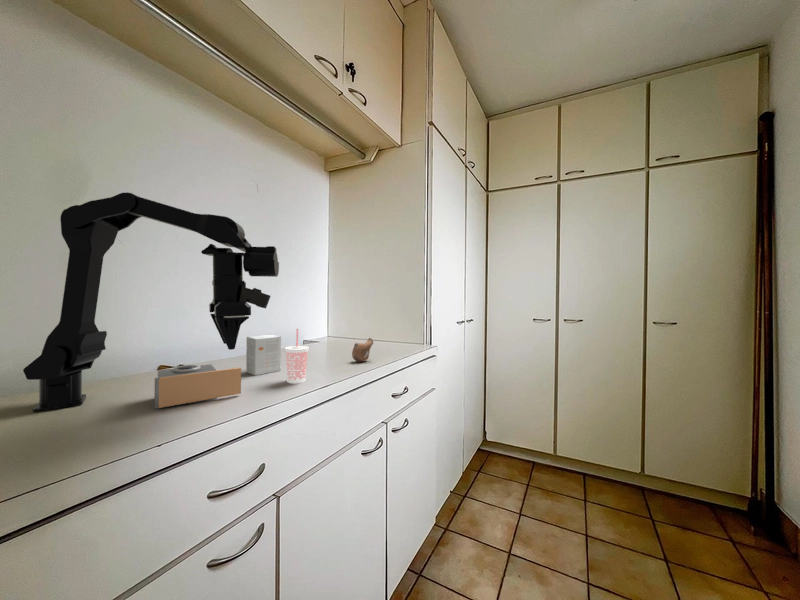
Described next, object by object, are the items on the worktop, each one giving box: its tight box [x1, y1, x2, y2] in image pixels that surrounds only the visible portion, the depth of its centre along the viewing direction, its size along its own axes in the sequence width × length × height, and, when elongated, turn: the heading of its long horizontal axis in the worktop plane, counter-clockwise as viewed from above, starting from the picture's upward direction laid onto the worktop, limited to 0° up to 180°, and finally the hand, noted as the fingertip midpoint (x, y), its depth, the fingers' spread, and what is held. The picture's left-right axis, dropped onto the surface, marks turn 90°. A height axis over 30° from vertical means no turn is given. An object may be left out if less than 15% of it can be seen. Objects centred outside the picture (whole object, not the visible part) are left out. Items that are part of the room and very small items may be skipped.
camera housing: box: [157, 364, 217, 409], centre depth 67 cm, size 8×10×7 cm
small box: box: [245, 334, 282, 376], centre depth 90 cm, size 8×6×10 cm
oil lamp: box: [351, 337, 374, 363], centre depth 107 cm, size 9×4×8 cm, turn 135°
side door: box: [153, 367, 242, 409], centre depth 64 cm, size 1×15×6 cm, turn 130°
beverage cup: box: [284, 328, 310, 385], centre depth 81 cm, size 6×6×14 cm
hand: (228, 346), depth 68 cm, fingers open, 9 cm apart
